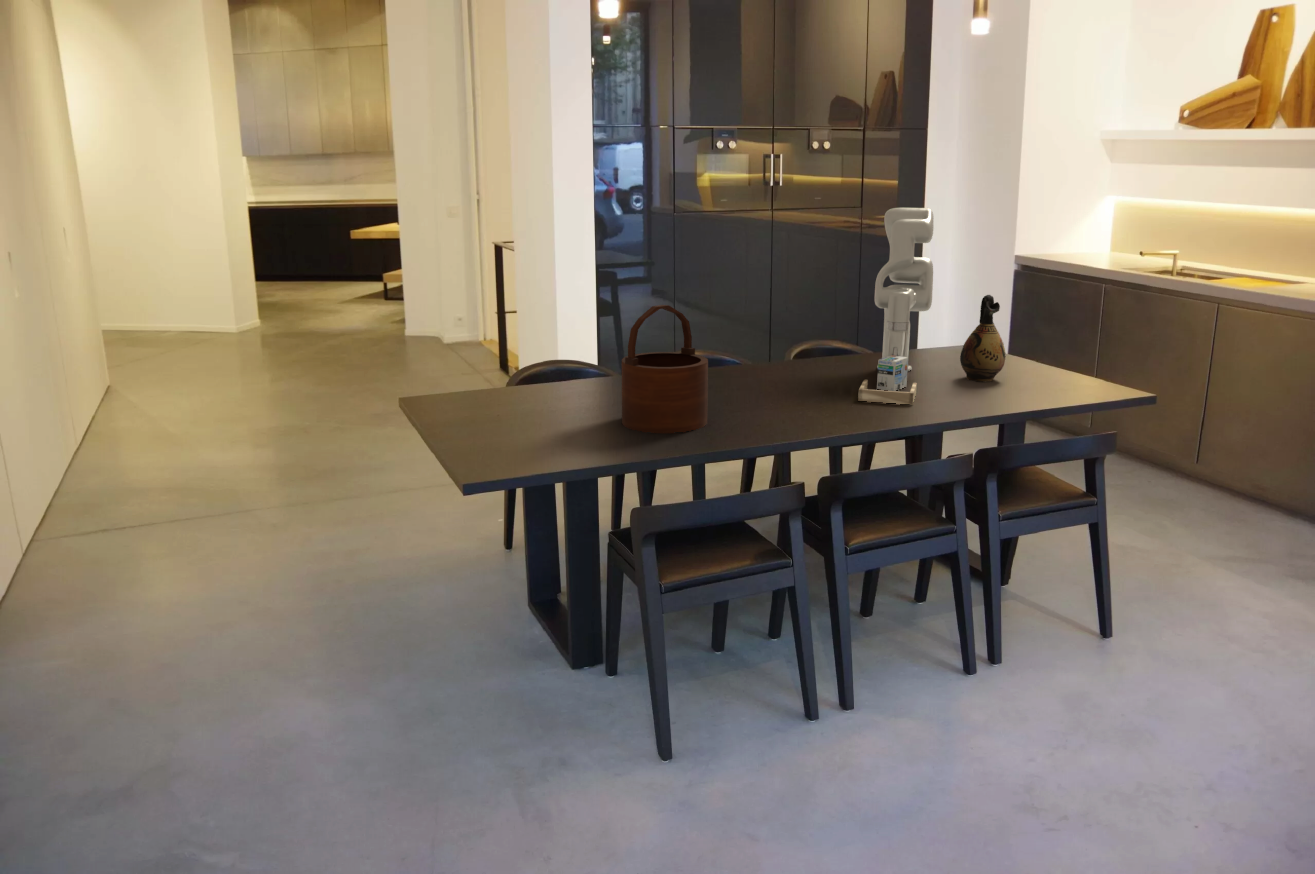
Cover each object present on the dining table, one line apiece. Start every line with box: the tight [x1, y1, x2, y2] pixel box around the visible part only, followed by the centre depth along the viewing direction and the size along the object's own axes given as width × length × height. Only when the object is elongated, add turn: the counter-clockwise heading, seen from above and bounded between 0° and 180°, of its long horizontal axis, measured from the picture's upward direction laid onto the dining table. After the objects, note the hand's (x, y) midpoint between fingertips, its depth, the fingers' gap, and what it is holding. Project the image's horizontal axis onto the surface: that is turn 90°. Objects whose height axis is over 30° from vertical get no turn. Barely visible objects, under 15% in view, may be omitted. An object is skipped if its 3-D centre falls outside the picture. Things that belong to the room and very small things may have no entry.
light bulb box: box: [876, 355, 909, 391], centre depth 352 cm, size 11×7×11 cm, turn 143°
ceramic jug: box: [959, 294, 1007, 383], centre depth 365 cm, size 17×15×30 cm
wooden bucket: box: [621, 304, 709, 434], centre depth 304 cm, size 26×26×35 cm
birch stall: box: [857, 379, 918, 406], centre depth 339 cm, size 16×17×4 cm
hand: (894, 377), depth 363 cm, fingers closed
